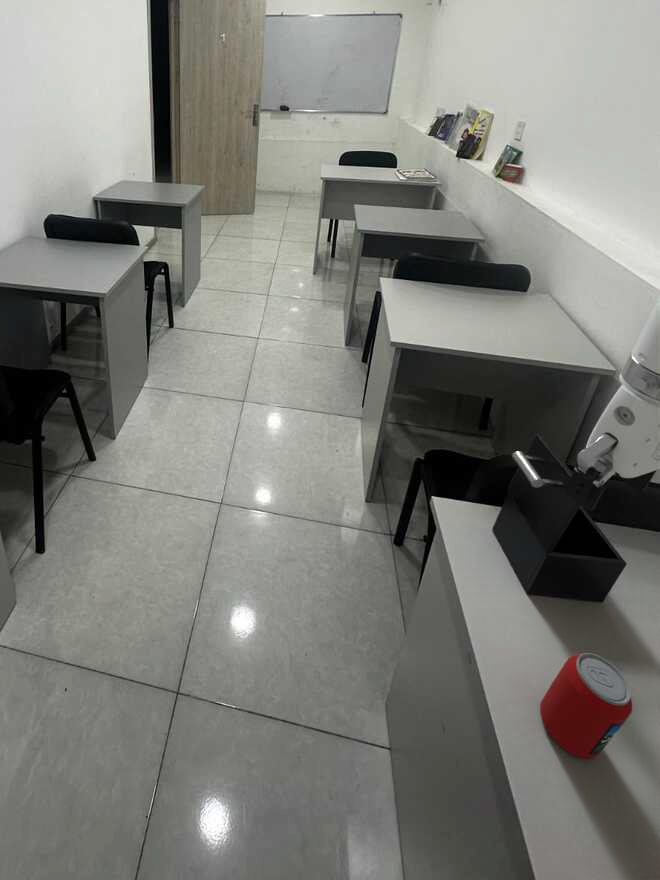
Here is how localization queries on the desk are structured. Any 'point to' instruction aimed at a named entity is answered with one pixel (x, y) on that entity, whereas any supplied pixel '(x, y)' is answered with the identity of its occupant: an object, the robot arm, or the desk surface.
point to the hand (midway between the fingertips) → (603, 492)
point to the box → (559, 557)
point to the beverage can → (586, 705)
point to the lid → (543, 492)
